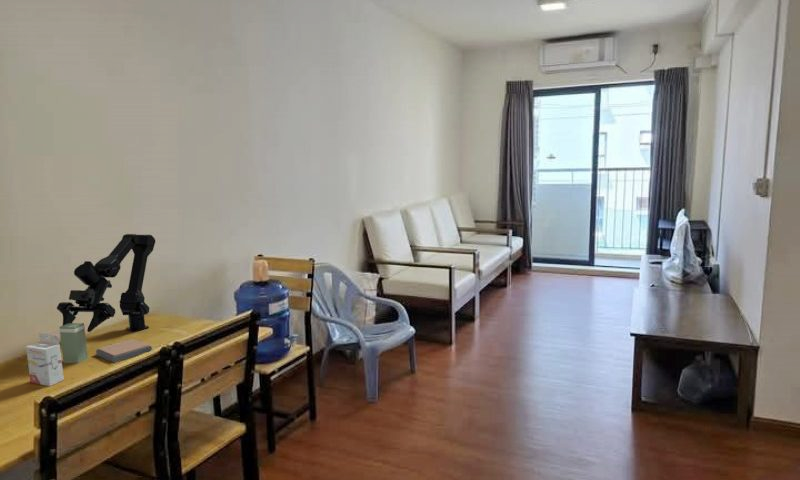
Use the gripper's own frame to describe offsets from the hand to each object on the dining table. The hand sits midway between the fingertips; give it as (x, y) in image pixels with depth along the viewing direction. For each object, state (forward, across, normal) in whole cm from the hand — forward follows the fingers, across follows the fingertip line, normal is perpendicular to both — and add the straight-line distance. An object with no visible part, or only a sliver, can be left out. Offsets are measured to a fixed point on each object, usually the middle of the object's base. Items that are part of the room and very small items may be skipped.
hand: (75, 331), depth 179 cm
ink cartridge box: (+20, +4, -6) cm, 22 cm away
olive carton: (+8, 0, +6) cm, 10 cm away
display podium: (+2, +12, +12) cm, 17 cm away
